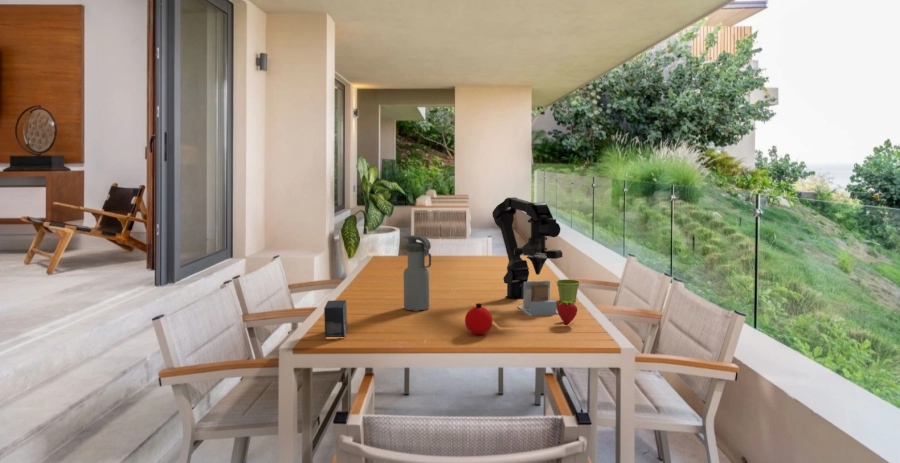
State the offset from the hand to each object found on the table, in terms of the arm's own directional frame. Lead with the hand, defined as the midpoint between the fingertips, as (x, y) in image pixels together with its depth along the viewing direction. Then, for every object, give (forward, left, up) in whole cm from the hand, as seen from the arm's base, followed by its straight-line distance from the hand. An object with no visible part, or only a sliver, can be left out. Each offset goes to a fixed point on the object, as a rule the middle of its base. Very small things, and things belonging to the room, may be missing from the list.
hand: (537, 274), depth 241 cm
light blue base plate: (+7, -12, -12) cm, 18 cm away
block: (+8, -13, -11) cm, 19 cm away
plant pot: (+8, +10, -12) cm, 18 cm away
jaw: (+6, -11, -11) cm, 16 cm away
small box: (-29, -78, -12) cm, 84 cm away
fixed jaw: (+11, -15, -12) cm, 22 cm away
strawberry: (+24, -21, -12) cm, 34 cm away
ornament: (+7, -49, -12) cm, 51 cm away
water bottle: (-33, -34, -12) cm, 49 cm away
